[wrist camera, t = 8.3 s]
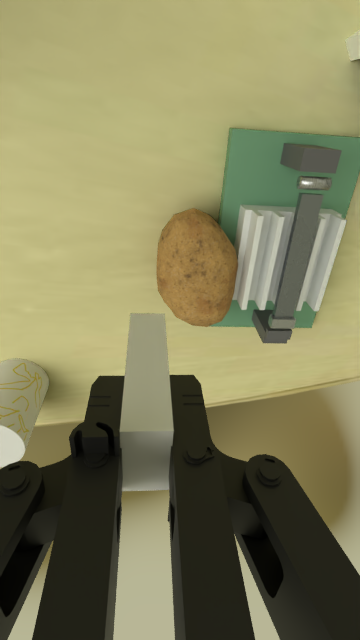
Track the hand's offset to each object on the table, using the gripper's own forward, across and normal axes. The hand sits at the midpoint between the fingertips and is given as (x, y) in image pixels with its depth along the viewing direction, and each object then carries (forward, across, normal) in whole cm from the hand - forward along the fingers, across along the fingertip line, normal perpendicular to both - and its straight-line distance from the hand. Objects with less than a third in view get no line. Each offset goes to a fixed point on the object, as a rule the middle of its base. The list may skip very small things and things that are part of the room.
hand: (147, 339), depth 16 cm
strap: (+22, +16, -4) cm, 27 cm away
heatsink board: (+28, +16, -4) cm, 33 cm away
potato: (+29, +6, -6) cm, 30 cm away
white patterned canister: (+29, -19, -27) cm, 44 cm away
